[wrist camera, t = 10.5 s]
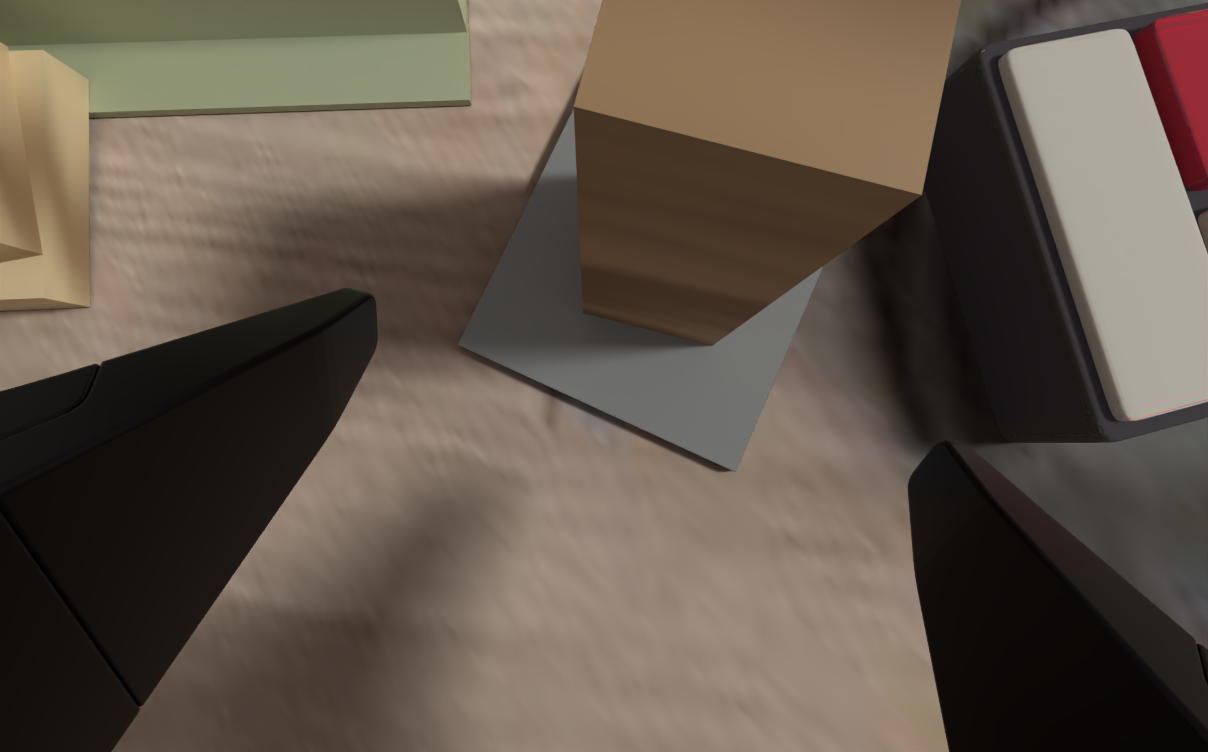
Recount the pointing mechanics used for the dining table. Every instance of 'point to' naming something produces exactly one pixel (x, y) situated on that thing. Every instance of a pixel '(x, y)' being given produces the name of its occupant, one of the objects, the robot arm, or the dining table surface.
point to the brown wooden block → (745, 147)
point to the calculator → (1082, 224)
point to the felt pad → (623, 335)
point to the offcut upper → (14, 176)
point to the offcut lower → (52, 185)
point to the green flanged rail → (251, 53)
